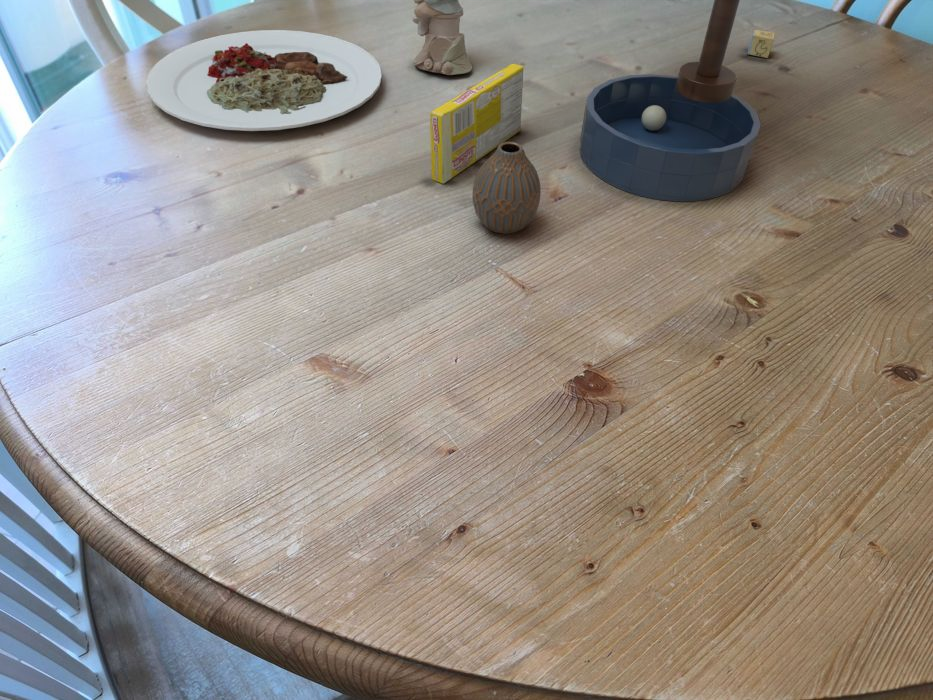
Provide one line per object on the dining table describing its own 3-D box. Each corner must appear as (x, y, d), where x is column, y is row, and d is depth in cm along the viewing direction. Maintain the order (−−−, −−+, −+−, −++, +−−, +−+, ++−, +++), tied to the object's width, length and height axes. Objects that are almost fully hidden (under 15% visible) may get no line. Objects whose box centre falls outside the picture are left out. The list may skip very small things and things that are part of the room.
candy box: (506, 126, 94) (512, 61, 89) (521, 131, 93) (527, 66, 88) (428, 179, 84) (428, 109, 79) (443, 185, 84) (445, 115, 78)
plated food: (319, 162, 86) (316, 135, 84) (98, 114, 92) (90, 87, 90) (415, 64, 107) (415, 40, 105) (230, 30, 113) (226, 6, 111)
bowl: (730, 126, 97) (743, 81, 93) (758, 208, 83) (775, 160, 79) (578, 113, 98) (585, 68, 94) (580, 193, 84) (589, 144, 79)
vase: (487, 248, 75) (493, 170, 69) (460, 212, 80) (463, 136, 74) (548, 234, 77) (558, 158, 71) (518, 200, 82) (526, 125, 76)
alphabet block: (748, 48, 116) (754, 28, 114) (768, 51, 116) (775, 31, 113) (746, 55, 114) (752, 35, 112) (767, 59, 113) (774, 38, 111)
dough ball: (670, 124, 94) (665, 100, 93) (666, 129, 92) (661, 105, 91) (646, 130, 96) (641, 106, 94) (642, 135, 93) (637, 111, 92)
